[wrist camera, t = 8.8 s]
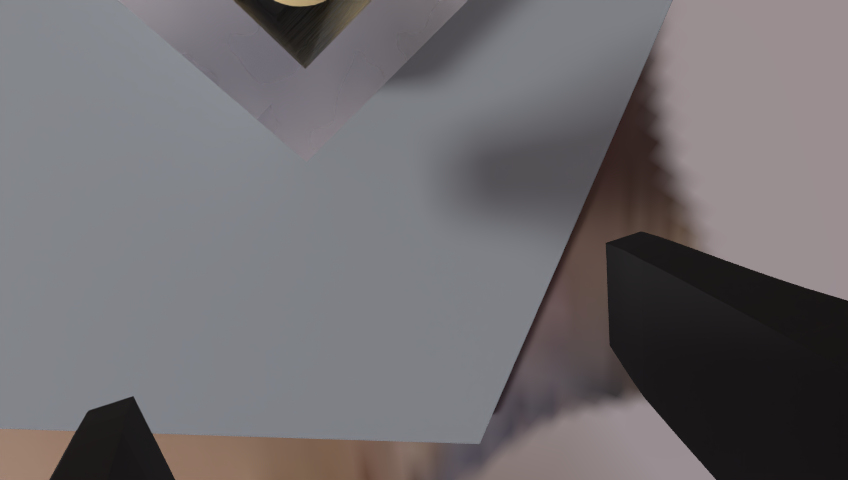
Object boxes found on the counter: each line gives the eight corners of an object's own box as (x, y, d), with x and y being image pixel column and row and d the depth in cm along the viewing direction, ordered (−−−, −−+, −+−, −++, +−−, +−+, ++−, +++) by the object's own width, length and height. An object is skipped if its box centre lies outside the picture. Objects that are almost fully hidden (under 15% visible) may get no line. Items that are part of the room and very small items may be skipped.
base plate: (466, 419, 25) (528, 537, 21) (-92, 392, 19) (-164, 556, 14) (743, -242, 17) (926, -262, 13) (-42, -674, 11) (-164, -977, 7)
